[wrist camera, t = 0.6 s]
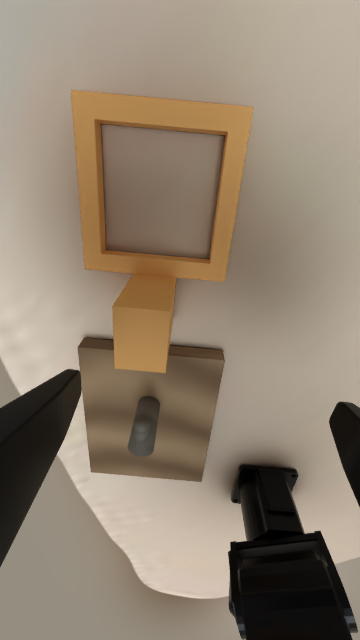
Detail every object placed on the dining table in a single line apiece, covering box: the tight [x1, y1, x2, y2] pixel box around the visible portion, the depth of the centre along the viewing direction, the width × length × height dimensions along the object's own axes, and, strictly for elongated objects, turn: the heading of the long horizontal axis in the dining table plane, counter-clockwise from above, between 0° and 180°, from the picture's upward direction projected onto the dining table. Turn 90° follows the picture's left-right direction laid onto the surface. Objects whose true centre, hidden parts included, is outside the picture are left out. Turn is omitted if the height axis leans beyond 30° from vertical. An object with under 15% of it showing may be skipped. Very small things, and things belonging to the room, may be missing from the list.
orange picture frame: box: [71, 90, 254, 373], centre depth 16 cm, size 14×10×7 cm
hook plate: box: [78, 338, 225, 482], centre depth 24 cm, size 16×12×6 cm
